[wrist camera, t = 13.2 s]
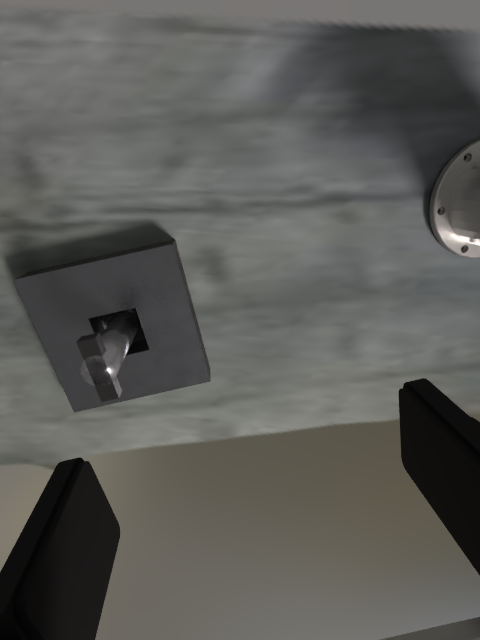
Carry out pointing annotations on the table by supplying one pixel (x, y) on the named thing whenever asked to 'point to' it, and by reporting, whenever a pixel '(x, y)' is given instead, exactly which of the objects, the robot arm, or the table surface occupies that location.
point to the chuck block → (113, 296)
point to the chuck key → (107, 354)
